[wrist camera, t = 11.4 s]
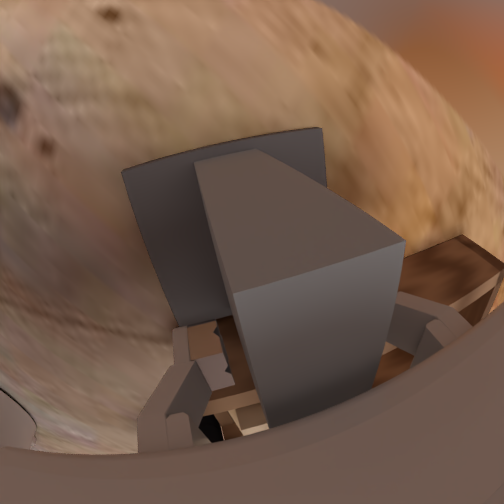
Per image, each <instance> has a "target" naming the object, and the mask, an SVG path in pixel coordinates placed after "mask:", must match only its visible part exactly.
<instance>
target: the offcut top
mask: <svg viewBox="0 0 504 504" xmlns="http://www.w3.org/2000/svg"><path fill="white" fill-rule="evenodd" d="M235 410H236V414H237V418H238V421H239V425H240V429H241V431H242V433H243V435H244V436H245V435H249V434H253V433H256V432H260V431H264V430H267V429H269V427H268V424H267V421H266V418H265V415H264V412H263V409H262V406H261V403H260V402H259V403H256V404H252V405H248V406H245V407H241V408H237V409H235Z"/></svg>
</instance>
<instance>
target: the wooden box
mask: <svg viewBox="0 0 504 504" xmlns="http://www.w3.org/2000/svg"><path fill="white" fill-rule="evenodd" d="M503 277H504V263H503V262H501V261H500V260H499V259H497V258H496V257H495V256H493V255H492V254H490V253H489V252H488V251H486V250H485V249H483V248H482V247H480V246H479V245H478V244H476V243H475V242H473V241H472V240H470V239H469V238H467V237H466V236H464V235H460V236H458V237H456V238H453V239H451V240H449V241H446V242H444V243H441V244H439V245H436V246H434V247H431V248H429V249H426V250H424V251H421V252H419V253H416V254H414V255H411V256H409V257H406V258H403V264H402V270H401V276H400V281H399V287H398V292H400V291H401V292H404V293H408V294H411V295H414V296H418V297H421V298H424V299H427V300H431V301H434V302H437V303H440V304H444V305H447V306H450V307H453V308H454V309H455V310H456V311H457V312H458V313H459V314H460V315H461V316H462V317H463V318H464V319H465V320H466V321H467V322H468V323H469V324H470V325H471V326H472V327H473V326H474V325H476V324H477V323H478V322H480V321H481V320H482V319H483V318H485V317H486V316H487V315H488V314H489V312H490V309H491V307H492V305H493V302H494V300H495V298H496V295H497V293H498V290H499V288H500V285H501V283H502V280H503ZM398 292H397V293H398ZM216 321H217V324H218V327H219V331H220V335H222V338H223V341H224V344H225V348H226V351H227V355H228V358H229V361H228V362H229V364H230V367H231V370H232V374H233V378H234V382H235V385H232V386H229V387H225V388H221V389H218V390H214V391H212V394H211V397H210V399H209V402H208V404H207V407H206V409H205V412H204V414H203V416H207V415H212V414H214V416H215V417H216V419H217V420H218V422H219V423H220V425H221V426H222V431H223V435H224V439H225V440H229V439H233V438H237V437H241V436H243V434H242V432H241V431H240V429H239V428H238V426H237V425H236V423H235V422H234V420H233V418H232V417H231V415H230V414H229V412H228V411H229V410H233V409H237V408H241V407H245V406H248V405H252V404H256V403H259V402H260V400H259V397H258V394H257V391H256V388H255V385H254V382H253V379H252V376H251V373H250V370H249V366H248V363H247V360H246V357H245V354H244V351H243V347H242V344H241V341H240V338H239V334H238V331H237V328H236V324H235V321H234V318H233V315H230V316H226V317H222V318H219V319H216ZM413 358H414V355H412V354H410V353H408V352H406V351H404V350H402V349H400V348H398V347H396V346H394V345H392V344H390V343H388V342H386V343H385V346H384V350H383V353H382V357H381V360H380V363H379V367H378V370H377V373H376V376H375V379H374V382H373V385H372V388H374V387H376V386H378V385H380V384H382V383H384V382H386V381H388V380H390V379H392V378H394V377H396V376H397V375H399V374H401V373H403V372H405V371H406V370H408V369H410V365H411V363H412V360H413ZM372 388H371V389H372Z"/></svg>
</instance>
